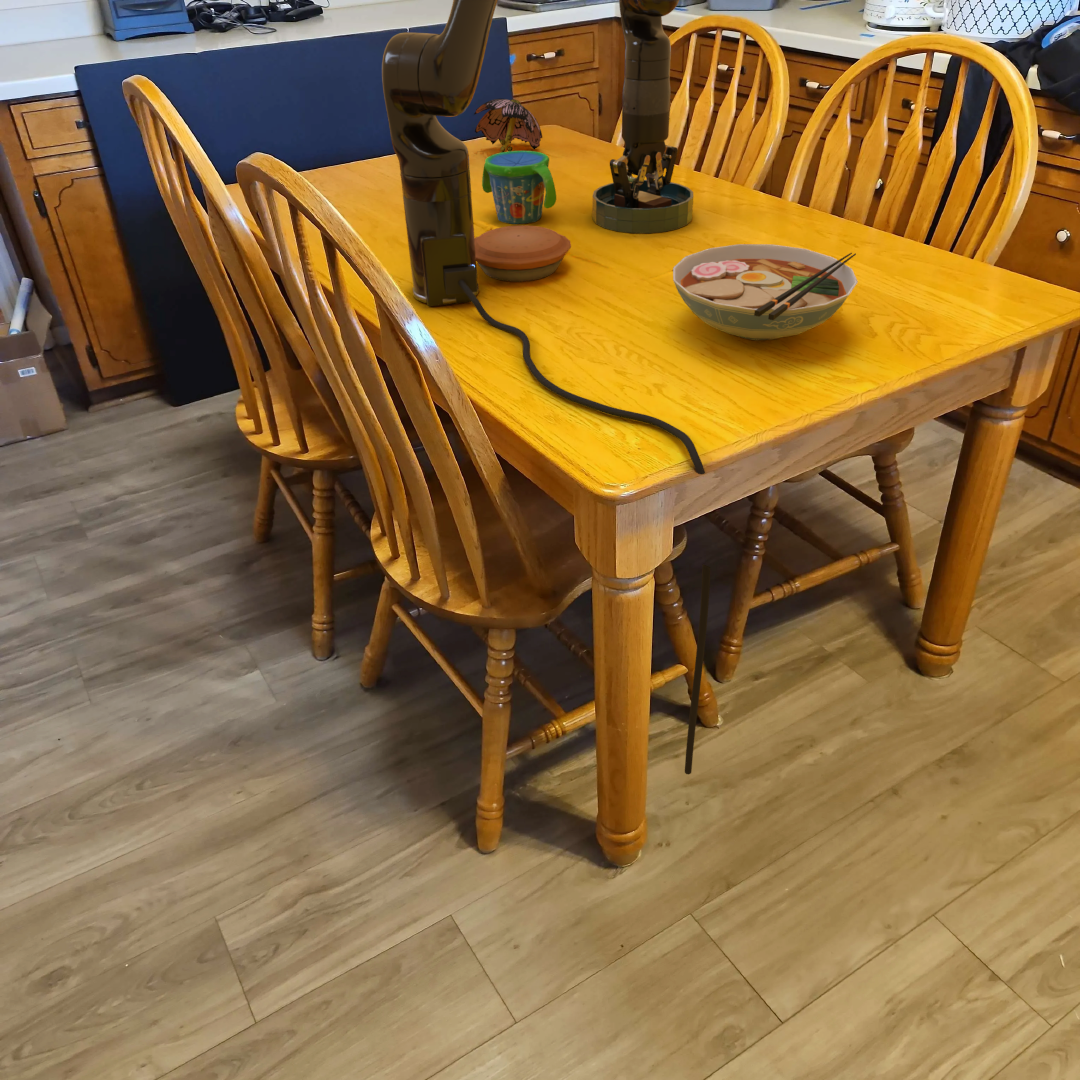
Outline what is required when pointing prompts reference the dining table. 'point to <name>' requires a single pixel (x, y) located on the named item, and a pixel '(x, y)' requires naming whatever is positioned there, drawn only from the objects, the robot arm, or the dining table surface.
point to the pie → (520, 252)
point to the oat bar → (644, 200)
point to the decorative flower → (508, 123)
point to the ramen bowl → (763, 288)
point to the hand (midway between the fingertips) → (642, 216)
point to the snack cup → (519, 185)
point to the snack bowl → (643, 210)
